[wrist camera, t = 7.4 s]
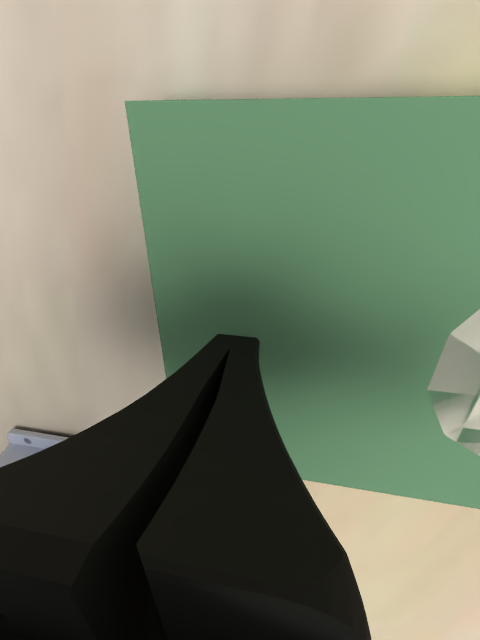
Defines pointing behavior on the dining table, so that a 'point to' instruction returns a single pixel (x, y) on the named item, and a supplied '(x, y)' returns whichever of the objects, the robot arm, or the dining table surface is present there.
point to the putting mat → (329, 272)
